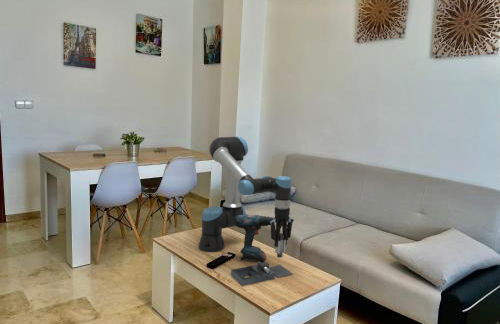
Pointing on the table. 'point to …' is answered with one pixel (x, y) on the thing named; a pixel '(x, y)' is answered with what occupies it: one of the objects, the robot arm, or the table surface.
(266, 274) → the plate
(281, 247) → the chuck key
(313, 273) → the table surface
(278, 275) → the rubber mat
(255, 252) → the power drill
